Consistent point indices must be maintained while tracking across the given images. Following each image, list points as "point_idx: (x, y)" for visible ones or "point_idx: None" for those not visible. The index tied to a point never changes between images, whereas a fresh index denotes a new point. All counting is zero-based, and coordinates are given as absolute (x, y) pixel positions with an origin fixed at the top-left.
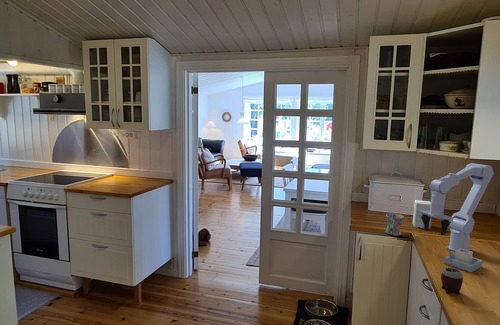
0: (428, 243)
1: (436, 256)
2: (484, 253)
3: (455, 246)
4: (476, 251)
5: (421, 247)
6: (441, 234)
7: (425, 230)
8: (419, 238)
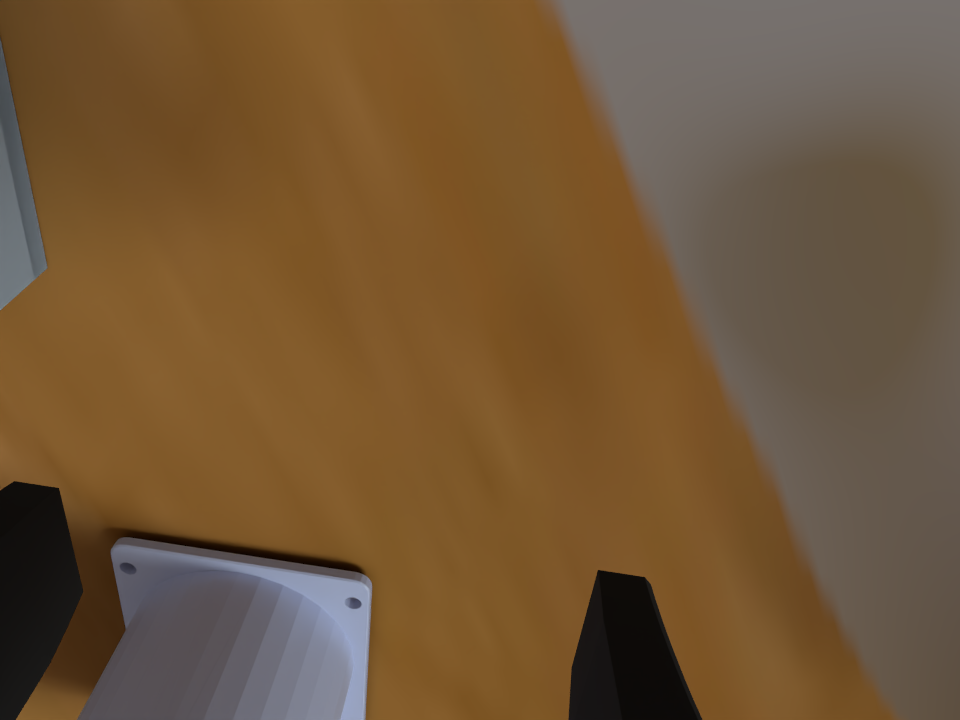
0: None
1: (275, 75)
2: None
3: (206, 619)
4: None
5: (686, 352)
6: (23, 500)
7: (622, 577)
8: (827, 703)
